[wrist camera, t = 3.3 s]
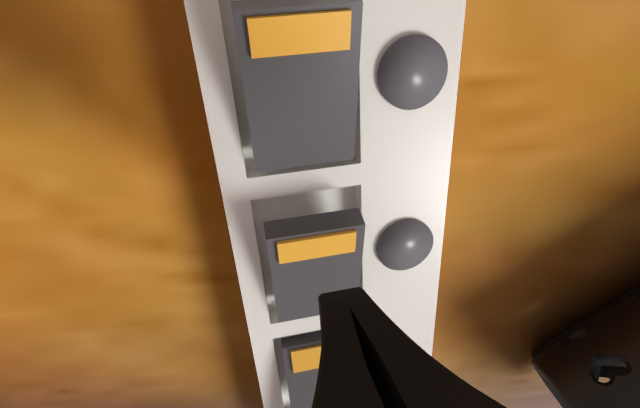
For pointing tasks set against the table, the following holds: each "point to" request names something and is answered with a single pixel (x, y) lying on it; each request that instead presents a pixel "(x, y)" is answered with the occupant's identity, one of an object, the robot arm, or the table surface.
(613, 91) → the table surface
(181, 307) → the table surface
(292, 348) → the rocker
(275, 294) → the middle rocker
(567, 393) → the black foam roller
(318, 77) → the rocker
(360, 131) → the switch strip
